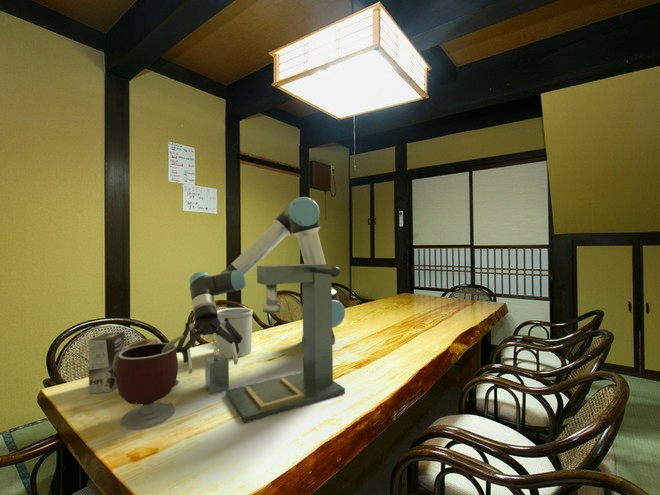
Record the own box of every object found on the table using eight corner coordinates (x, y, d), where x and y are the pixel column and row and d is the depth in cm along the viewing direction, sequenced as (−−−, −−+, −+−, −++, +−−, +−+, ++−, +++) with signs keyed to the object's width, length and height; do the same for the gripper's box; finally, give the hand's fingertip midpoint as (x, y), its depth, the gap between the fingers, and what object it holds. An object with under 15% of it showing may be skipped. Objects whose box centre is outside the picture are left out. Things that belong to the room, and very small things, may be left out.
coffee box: (111, 392, 97) (111, 339, 97) (88, 394, 96) (87, 340, 96) (125, 380, 106) (125, 331, 106) (104, 381, 105) (103, 332, 105)
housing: (223, 382, 104) (222, 345, 104) (228, 389, 98) (228, 350, 98) (205, 385, 101) (205, 347, 101) (210, 394, 95) (209, 353, 95)
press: (315, 373, 110) (313, 262, 110) (361, 404, 88) (359, 265, 88) (225, 395, 94) (224, 266, 94) (254, 439, 72) (252, 270, 72)
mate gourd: (110, 437, 74) (109, 350, 74) (122, 409, 87) (121, 335, 87) (184, 421, 80) (183, 341, 80) (185, 398, 93) (184, 329, 93)
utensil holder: (251, 345, 143) (251, 306, 143) (254, 356, 129) (254, 312, 129) (216, 349, 138) (216, 308, 138) (215, 360, 124) (215, 315, 124)
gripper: (238, 312, 121) (251, 364, 108) (164, 320, 108) (168, 381, 95) (242, 300, 116) (256, 353, 103) (165, 307, 103) (170, 369, 90)
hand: (214, 366), depth 99 cm, fingers open, 13 cm apart
